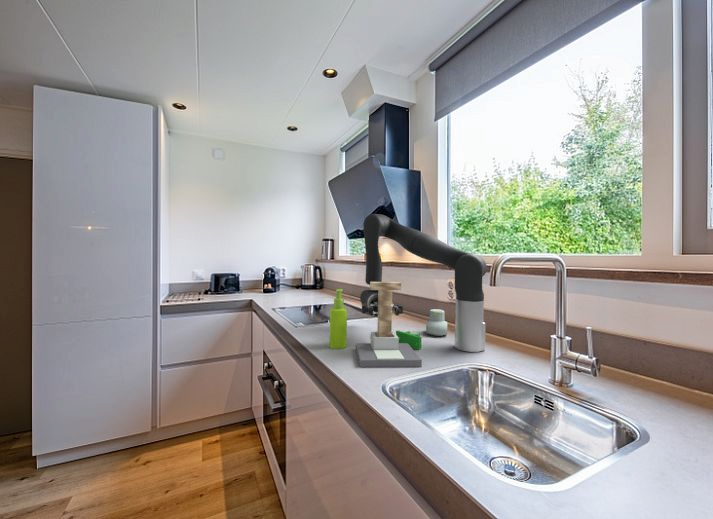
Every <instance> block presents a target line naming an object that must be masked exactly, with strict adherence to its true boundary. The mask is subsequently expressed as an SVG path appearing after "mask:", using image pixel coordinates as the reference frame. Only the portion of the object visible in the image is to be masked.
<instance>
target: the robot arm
mask: <svg viewBox="0 0 713 519" xmlns="http://www.w3.org/2000/svg"><path fill="white" fill-rule="evenodd" d="M362 228H363V229H362V230H363V236H364V246H365V247H364V248H365V259H366V260H365V279H364V280H365V284H367V285H369V286H370V282H383V281H382V280H383V261H382V258H381V254H380V251H379V250H380V249H379V240H380V239H379V238H380V237H383V238H387V239H390V240H393V241H395V242H397V243H398V244H399V245H400V246H401V247H402V248H404V250H406V251H407V252H409V253H411V254H412V255H415V256H416V257H418V258H421V259H424V260H426V261H430V262H432V263H437V264H441V265H443V266H447V267H448V268H451V269H453V270H454V292H455V298H456V299H455V320H454V322H455V324H454V348H455V349H457V350H460V351H464V352H468V353H469V352H470V353H478V352H481V351H484V352H485V351H486V328H487V327H486V325H487V324H486V322H484V310H485V308H484V305H485V304H484V303H485V302H484V301H485V292H484V290H483V278H484V276H486V273H487V271H488V265H487V262H486V261H485V259H484V258H483V257H481V256H480V255H478V254H474V253H470V252H466V251H464V250H462V249H458V248H455V247H453V246H451V245H450V244H447V243H445V242H444V241H442V240H440V239H439V238H436V237H434V236H433V235H430V234H427V233H425V232H423V231H420V230H418V229H415V228H412V227H409V226H406V225H403V224H401V223H399V222H397V221H395V220H393V219H392V218H390V217H388V216H386V215H384V214H380V213H379V214H378V213H371V214H368V215H367V216H365V217H364V220H363V227H362ZM359 300H360V303H361V313H362V314H368V315H370V316H376V317H378V290H370V289H364V290H362V292H360V296H359ZM402 314H404V306H403V304H402V305H401V304H400V303H396V304H395V305H394V303H392V315H395V316H396V317H397V316H399V315H402Z"/></svg>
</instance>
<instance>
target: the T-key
mask: <svg viewBox="0 0 713 519" xmlns="http://www.w3.org/2000/svg"><path fill="white" fill-rule="evenodd" d="M369 290H378V316H377V331H376V332H377V337H391V332H392V330H393V329H392V324H393V323H392V321H393V314H392V304H393V291H402V282H400V281H382V282H370V285H369Z"/></svg>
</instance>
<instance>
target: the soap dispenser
mask: <svg viewBox="0 0 713 519" xmlns="http://www.w3.org/2000/svg"><path fill="white" fill-rule="evenodd" d="M343 291H344V288H337V289H336V290H335V293H336V297H335V298H334V299H333V307H332V308H329V311H330V312H329V347H330V349H332V350H333V349H335V350H341V349H342V350H343V349H346V347H347V335H348V334H347V329H348V327H347V324H348V322H347V321H348V309H347V308H345V306H344V303H345V302H344V298H342V292H343Z"/></svg>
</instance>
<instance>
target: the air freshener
mask: <svg viewBox="0 0 713 519" xmlns="http://www.w3.org/2000/svg"><path fill="white" fill-rule="evenodd" d="M425 323H426V327H425V331H426V333H427V334H428V335H430V336H435V337H443V335H444V336H445V335H447V334H448V321H446V320H445V311H444V310H443V309H438V308H436V309H435V308H433V309H430V310H429V319H428V320H426V322H425Z"/></svg>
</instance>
